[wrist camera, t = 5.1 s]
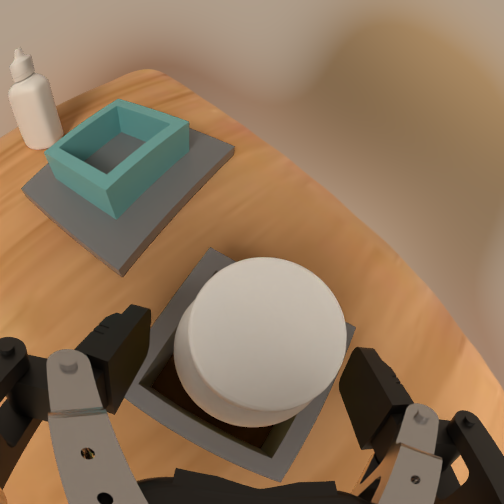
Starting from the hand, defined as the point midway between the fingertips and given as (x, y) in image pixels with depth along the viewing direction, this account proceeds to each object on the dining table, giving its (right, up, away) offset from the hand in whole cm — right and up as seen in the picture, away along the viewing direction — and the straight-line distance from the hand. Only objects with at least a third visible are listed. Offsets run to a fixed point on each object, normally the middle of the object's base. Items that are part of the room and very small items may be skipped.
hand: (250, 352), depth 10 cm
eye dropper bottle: (-23, +16, +12) cm, 30 cm away
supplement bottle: (-1, -3, +5) cm, 6 cm away
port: (-11, +11, +11) cm, 19 cm away
